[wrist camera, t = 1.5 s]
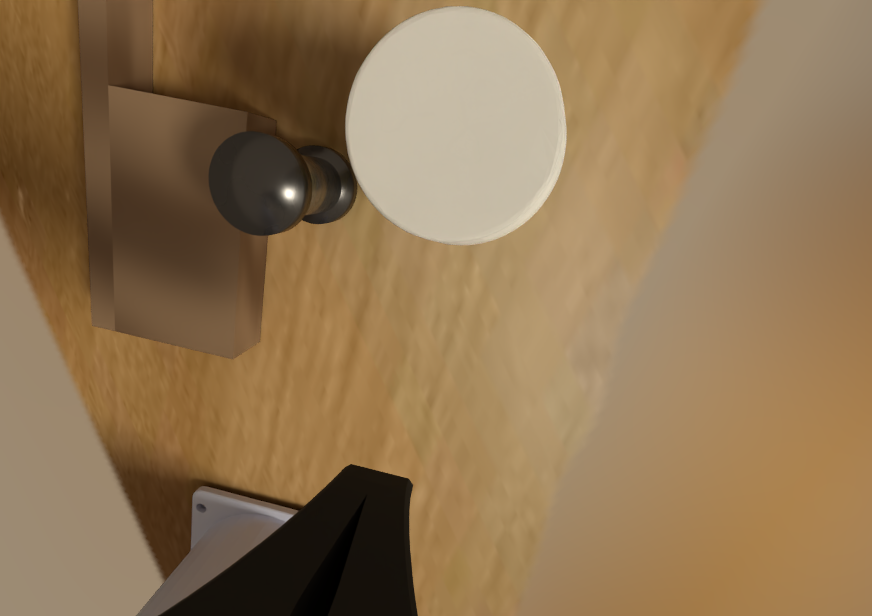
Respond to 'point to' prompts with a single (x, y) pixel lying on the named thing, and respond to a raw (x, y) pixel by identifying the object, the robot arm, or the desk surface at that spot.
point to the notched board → (160, 197)
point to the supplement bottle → (456, 126)
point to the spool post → (278, 183)
